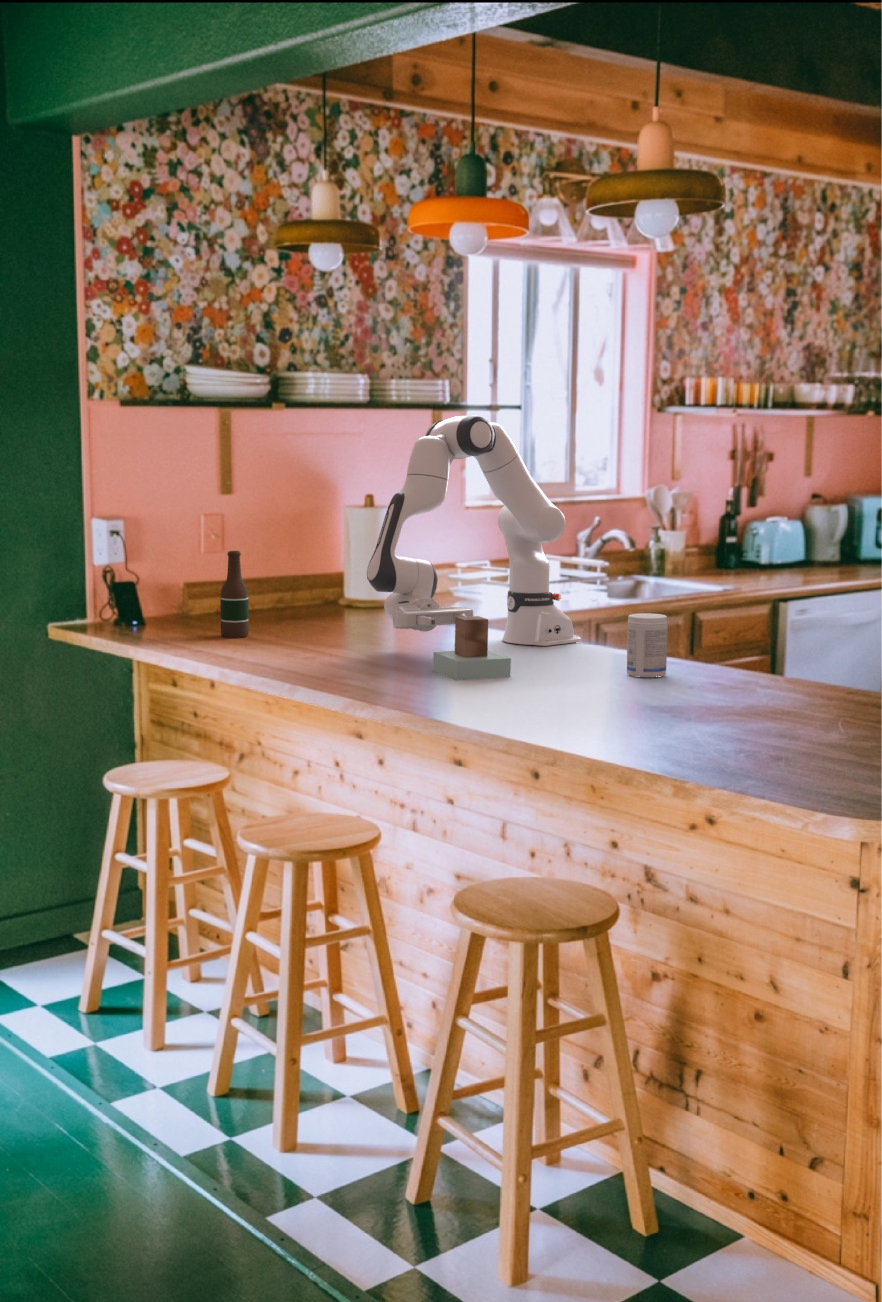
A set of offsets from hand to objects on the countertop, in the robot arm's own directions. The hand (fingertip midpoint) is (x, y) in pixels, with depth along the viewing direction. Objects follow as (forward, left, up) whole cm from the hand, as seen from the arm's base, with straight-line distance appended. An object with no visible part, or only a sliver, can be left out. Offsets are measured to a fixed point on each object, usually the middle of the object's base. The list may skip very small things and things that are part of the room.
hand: (449, 620), depth 329 cm
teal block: (0, +11, -12) cm, 16 cm away
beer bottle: (+32, -67, -12) cm, 75 cm away
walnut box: (0, +11, -7) cm, 13 cm away
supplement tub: (-38, +30, -12) cm, 50 cm away
